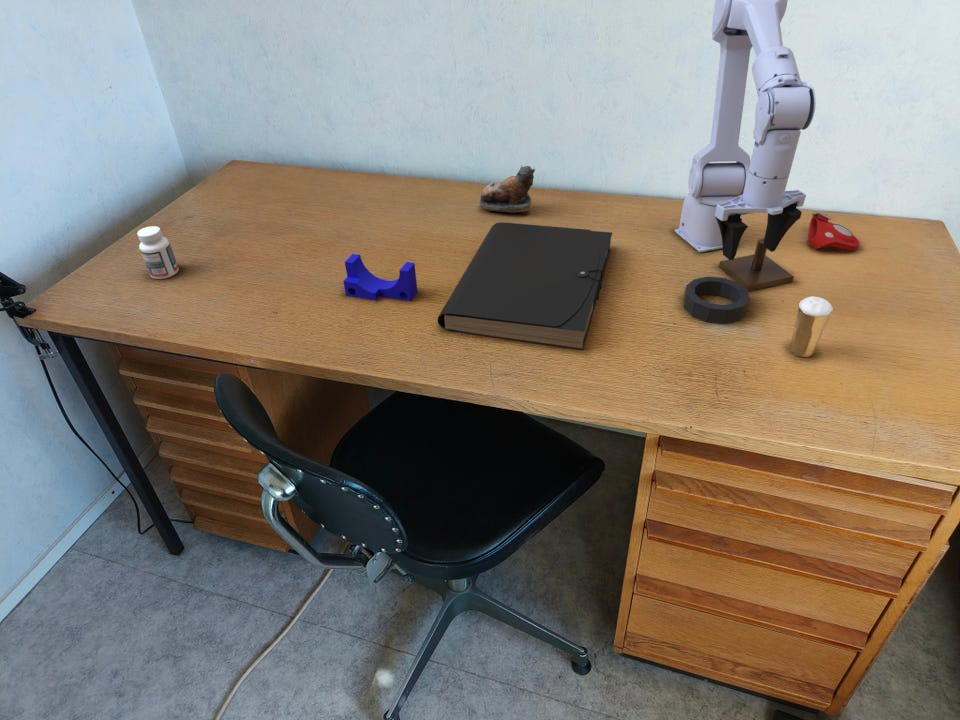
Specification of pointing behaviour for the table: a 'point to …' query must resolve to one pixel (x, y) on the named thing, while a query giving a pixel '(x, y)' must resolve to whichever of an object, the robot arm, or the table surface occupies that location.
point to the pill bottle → (157, 253)
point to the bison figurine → (509, 193)
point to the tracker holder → (830, 233)
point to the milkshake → (810, 325)
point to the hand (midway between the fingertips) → (748, 252)
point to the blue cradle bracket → (378, 282)
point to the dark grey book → (531, 285)
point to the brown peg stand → (756, 270)
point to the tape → (716, 311)
